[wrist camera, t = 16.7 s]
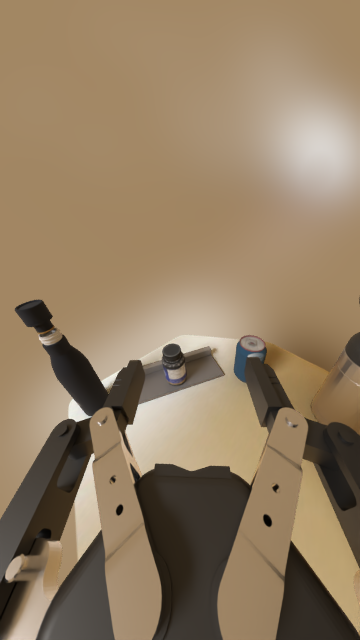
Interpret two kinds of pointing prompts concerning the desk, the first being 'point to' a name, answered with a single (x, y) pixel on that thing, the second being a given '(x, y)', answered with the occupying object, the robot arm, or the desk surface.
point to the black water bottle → (65, 359)
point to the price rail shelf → (197, 369)
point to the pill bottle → (174, 364)
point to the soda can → (248, 353)
